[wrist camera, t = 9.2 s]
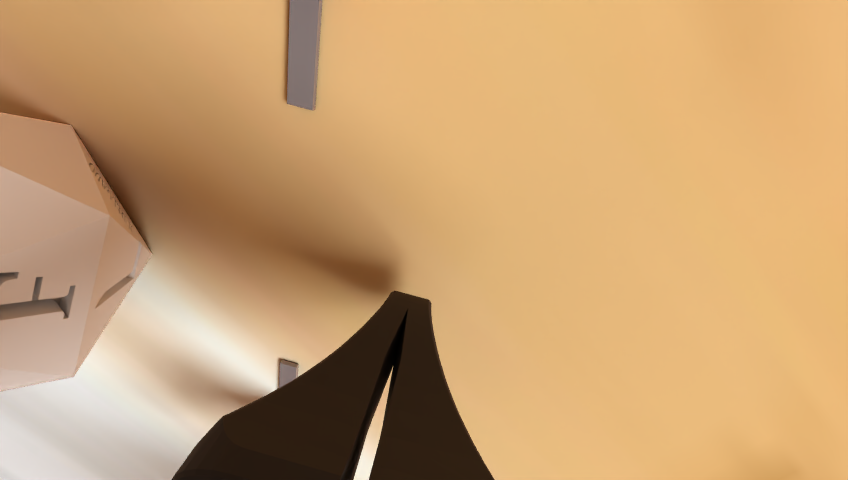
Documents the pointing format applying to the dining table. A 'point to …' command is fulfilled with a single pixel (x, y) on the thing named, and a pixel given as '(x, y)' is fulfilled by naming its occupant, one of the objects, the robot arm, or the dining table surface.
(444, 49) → the dining table surface
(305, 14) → the pair of orange pieces
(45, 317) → the die
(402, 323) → the robot arm
